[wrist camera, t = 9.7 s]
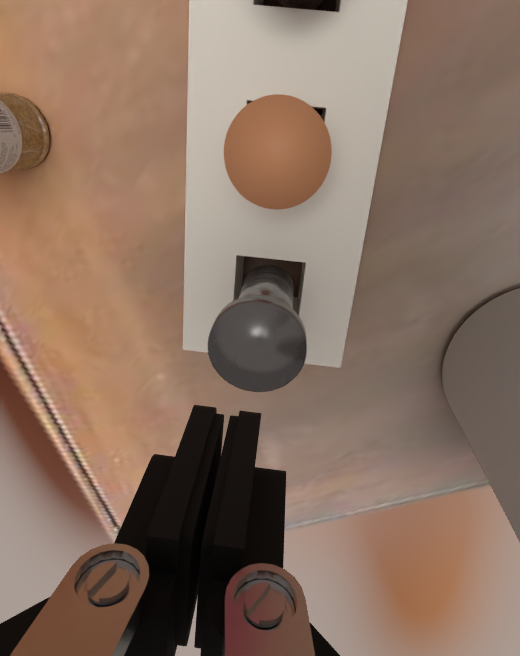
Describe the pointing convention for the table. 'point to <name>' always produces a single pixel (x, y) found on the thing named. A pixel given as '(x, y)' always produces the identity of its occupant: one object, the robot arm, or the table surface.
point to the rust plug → (277, 151)
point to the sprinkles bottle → (21, 134)
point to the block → (345, 168)
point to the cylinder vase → (490, 394)
